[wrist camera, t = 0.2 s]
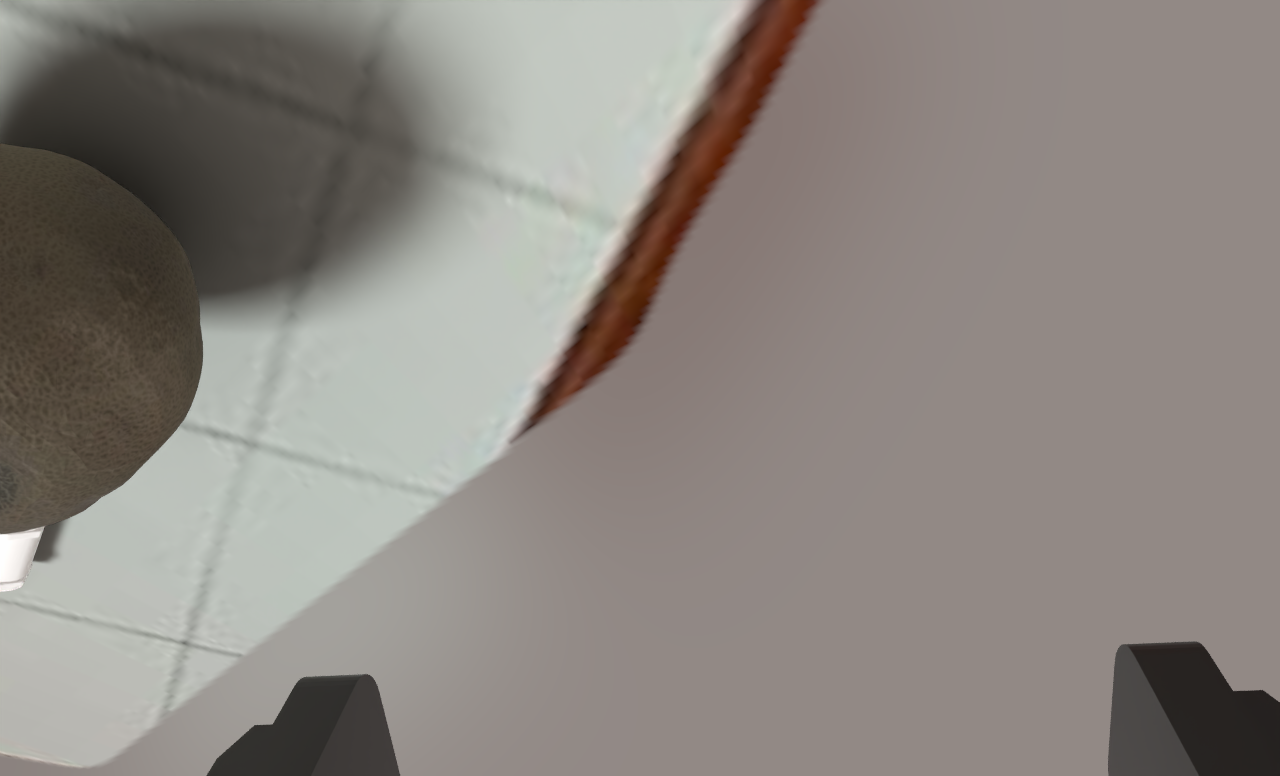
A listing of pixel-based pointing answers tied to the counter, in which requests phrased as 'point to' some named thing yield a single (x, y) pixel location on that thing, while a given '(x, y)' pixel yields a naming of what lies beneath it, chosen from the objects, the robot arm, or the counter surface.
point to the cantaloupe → (85, 336)
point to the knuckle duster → (17, 557)
